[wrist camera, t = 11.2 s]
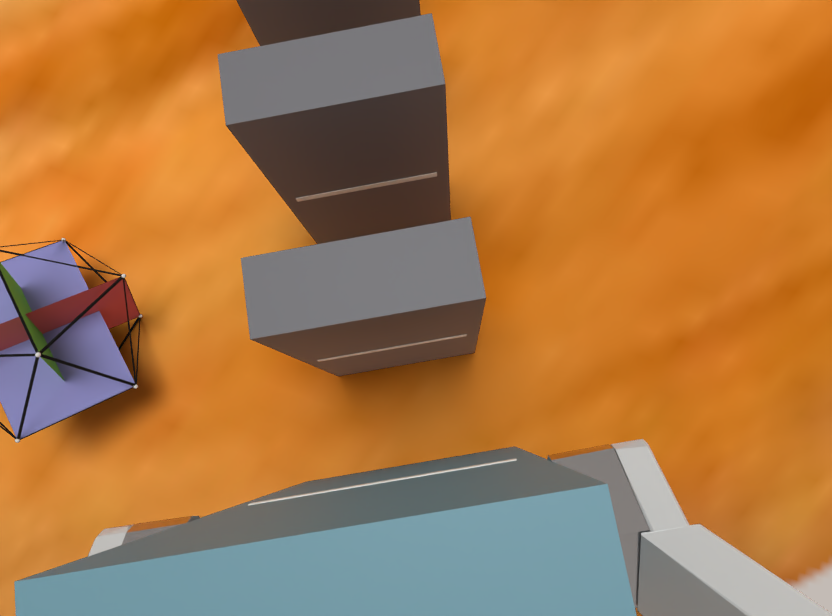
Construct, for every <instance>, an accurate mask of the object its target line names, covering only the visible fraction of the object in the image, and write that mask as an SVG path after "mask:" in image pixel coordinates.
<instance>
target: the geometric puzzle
mask: <svg viewBox="0 0 832 616" xmlns="http://www.w3.org/2000/svg"><path fill="white" fill-rule="evenodd" d="M57 241H59V242H56V243H53V244H50V245H47V246H45V247H42V248H39V249H36V250H33V251H31V252H28V253H25V254H18V253H13V252H8V251H4V250H0V252H5V253H10V254H15V255H19V256H16V257H14V258H11V259H8V260H5V261H2V262H0V402H1V404H2V406H3V408H4V411H5V413H6V415H7V417H8V420H9V422H10V424H11V426H12V429H13V431H14V433H15V435H16V437H15V436H14V435H13V434H12V433H11V432H10V431H9V430H8V429H7V428H6V427H5V426H4V425H3V424H2V423H1V422H0V424H1V425H2V426H3V427H4V428H5V429H6V430H5V429H4V428H3V427H2V426H0V427H1V428H2V429H4V430H5V431H6V432H7V433H9V434H10V435H11V436H12V437H14V438H15V442H17V443H18V442H20V440H21V439H23V438H25V437H27V436H30V435H32V434H34V433H36V432H38V431H40V430H43V429H45V428H47V427H49V426H51V425H53V424H56V423H58V422H60V421H62V420H64V419H66V418H68V417H71V416H73V415H75V414H77V413H79V412H81V411H84V410H86V409H88V408H90V407H92V406H94V405H97V404H99V403H101V402H103V401H105V400H107V399H110V398H112V397H114V396H116V395H118V394H120V393H123V392H125V391H127V390H129V389H131V388H133V387H134V388H138V385H137V370H138V353H139V335H140V318H142V314H140V313H139V311H138V309H137V306H136V304H135V301H134V299H133V297H132V294H131V292H130V289H129V287H128V285H127V282H126V280H125V277H126V275H125V274H121V275H120V273H119V274H115V273H110V272H105V271H101V270H96V269H94V268H93V267H92V266H91V265H90V264H89V263H88V262H87V261H86V260H85V259H84V258H83V257H82V256H81V255H80V254H79V253H78V252H77V251H76V250H75V249H74V248H73V247H72V246H71V245H72V244H71V243H69V242H67V241H66V239H65V238H62V239H61V240H57ZM47 242H53V241H47ZM38 243H44V242H38ZM29 244H35V243H29ZM70 244H71V245H70ZM19 245H26V244H19ZM67 245H68V246H69V247H70V248H71V249H72V250H73V251H74V252H75V253H76V254H77V255H78V256H79V257H80V258H81V259H82V260H83V261H84V262H85V263H86V264H87V265H88V266H89V267H90V268H86V267H81V266H77V264H76V262H75V260H74V258H73V256H72V254H71V252H70V250H69V248H68V246H67ZM10 246H16V245H10ZM73 246H74V245H73ZM1 247H7V246H1ZM74 247H76V246H74ZM76 248H77V247H76ZM78 249H79V248H78ZM79 250H81V249H79ZM81 251H82V250H81ZM83 252H84V251H83ZM84 253H85V252H84ZM86 254H87V253H86ZM88 255H89V254H88ZM89 256H90V255H89ZM91 257H92V256H91ZM93 258H94V257H93ZM94 259H95V258H94ZM96 260H97V259H96ZM97 261H99V260H97ZM99 262H100V261H99ZM101 263H102V262H101ZM102 264H104V263H102ZM104 265H105V264H104ZM106 266H107V265H106ZM107 267H109V266H107ZM79 268H83V269H88V270H93V271H94V272H95V273H96V274H97V275H98V276H99V277H100V278H101V279H102V280H103V281H104V282H105V283H104V284H101V285H99V286H96V287H94V288H91V289H88V287H87V285H86V283H85V281H84V279H83V277H82V274H81V272H80V270H79ZM109 268H110V267H109ZM111 269H112V268H111ZM112 270H114V269H112ZM97 271H98V272H103V273H107V274H112V275H117V276H121V277H119V278H117V279H114V280H111V281H109V282H107V281H106V280H105V279H104V278H103V277H102V276H101V275H100V274H99V273H98V272H97ZM114 271H115V270H114ZM116 272H117V271H116ZM117 273H118V272H117ZM137 317H138V318H137ZM134 318H137V320H136V321H135V323H134V324H133V326H132V328H131V329H130V324H129V320H132V319H134ZM138 320H139V335H138V352H137V370H136V375H135V366H134V358H133V349H132V341H131V331H132V330H133V328H134V327H135V325H136V323H137V322H138ZM127 321H128V329H129V332H128V334H127V336H126V337H125V339H124V340H123V342H122V344H121V345H120V347H119V348H118V347H117V345H116V343H115V341H114V339H113V337H112V335H111V333H110V331H109V329H110V328H113V327H115V326H118V325H120V324H122V323H125V322H127ZM128 336H129V337H130V346H131V354H132V363H133V371H134V380H135V382H134V380H133V378H132V376H131V374H130V372H129V370H128V368H127V365H126V363H125V361H124V359H123V357H122V355H121V353H120V351H119V350H120V349H121V347H122V346H123V344H124V342H125V341H126V339H127V338H128Z"/></svg>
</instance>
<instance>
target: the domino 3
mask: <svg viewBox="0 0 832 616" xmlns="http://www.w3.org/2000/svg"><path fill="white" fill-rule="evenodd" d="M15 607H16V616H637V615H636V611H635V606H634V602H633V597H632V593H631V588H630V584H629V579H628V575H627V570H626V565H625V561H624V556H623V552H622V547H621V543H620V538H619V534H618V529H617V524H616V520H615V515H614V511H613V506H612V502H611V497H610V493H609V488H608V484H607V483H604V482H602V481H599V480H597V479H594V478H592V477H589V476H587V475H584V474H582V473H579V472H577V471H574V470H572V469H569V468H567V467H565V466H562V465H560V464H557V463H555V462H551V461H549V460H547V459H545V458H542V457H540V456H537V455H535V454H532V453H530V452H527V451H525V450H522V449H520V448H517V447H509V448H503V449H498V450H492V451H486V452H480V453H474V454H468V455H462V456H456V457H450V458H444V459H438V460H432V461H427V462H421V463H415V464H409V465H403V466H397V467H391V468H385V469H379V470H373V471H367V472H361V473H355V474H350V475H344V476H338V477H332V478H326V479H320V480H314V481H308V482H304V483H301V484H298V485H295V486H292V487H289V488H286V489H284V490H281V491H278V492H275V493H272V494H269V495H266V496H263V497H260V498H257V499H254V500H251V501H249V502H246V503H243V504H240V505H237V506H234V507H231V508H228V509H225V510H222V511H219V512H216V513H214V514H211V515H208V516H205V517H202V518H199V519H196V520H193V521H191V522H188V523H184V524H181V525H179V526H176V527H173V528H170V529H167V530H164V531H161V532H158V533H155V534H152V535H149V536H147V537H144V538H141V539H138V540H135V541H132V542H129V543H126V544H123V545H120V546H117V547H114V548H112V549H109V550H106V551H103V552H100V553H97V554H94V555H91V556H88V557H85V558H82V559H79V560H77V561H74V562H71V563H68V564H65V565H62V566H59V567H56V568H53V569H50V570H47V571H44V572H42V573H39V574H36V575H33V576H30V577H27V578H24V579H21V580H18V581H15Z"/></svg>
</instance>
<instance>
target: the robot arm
mask: <svg viewBox="0 0 832 616" xmlns="http://www.w3.org/2000/svg"><path fill="white" fill-rule="evenodd" d="M547 460H549V461H551V462H555V463H557V464H560V465H562V466H565V467H567V468H569V469H572V470H574V471H577V472H579V473H582V474H584V475H587V476H589V477H592V478H594V479H597V480H599V481H602V482H604V483H607V484H608V488H609V493H610V497H611V502H612V506H613V511H614V515H615V520H616V524H617V529H618V534H619V538H620V543H621V547H622V552H623V556H624V561H625V565H626V570H627V575H628V579H629V584H630V588H631V593H632V597H633V602H634V606H635V608H637V607H638V609H637V610H638V611H639V612H640V613H641V614H642V615H643V616H832V613H831V612H829V611H828V610H826V609H825V608H823V607H822V606H820V605H819V604H817V603H816V602H814V601H813V600H811V599H810V598H808V597H807V596H805V595H804V594H802V593H801V592H800V591H798V590H797V589H795V588H794V587H792V586H791V585H789V584H788V583H786V582H785V581H783V580H782V579H780V578H779V577H777V576H776V575H774V574H773V573H772V572H770V571H769V570H767V569H766V568H764V567H763V566H761V565H760V564H758V563H757V562H755V561H754V560H752V559H751V558H749V557H748V556H746V555H745V554H743V553H742V552H741V551H739V550H738V549H736V548H735V547H733V546H732V545H730V544H729V543H727V542H726V541H724V540H723V539H721V538H720V537H718V536H717V535H715V534H714V533H712V532H711V531H710V530H708V529H707V528H705V527H704V526H702V525H701V524H694V525H689V523H688V521H687V519H686V517H685V515H684V513H683V511H682V509H681V507H680V505H679V503H678V502H677V500H676V498H675V496H674V494H673V492H672V490H671V488H670V486H669V484H668V482H667V480H666V478H665V476H664V474H663V472H662V470H661V468H660V466H659V464H658V462H657V460H656V458H655V457H654V455H653V453H652V451H651V449H650V447H649V445H648V443H647V442H646V441H644V440H643V439H639V440H634V441H628V442H622V443H616V444H611V445H609V444H607V445H602V446H596V447H591V448H585V449H580V450H574V451H569V452H563V453H558V454H552V455H548V459H547ZM199 518H200V517H199V516H189V517H182V518H175V519H167V520H160V521H153V522H146V523H139V524H134V525H127V526H121V527H114V528H107V529H104V530H103V531H102V532H101V533H100V534H99V535H98V536H97V537H96V538H95V540H94V543H93V545H92V547H91V550H90V552H89V555H88V556H91V555H94V554H97V553H100V552H103V551H106V550H109V549H112V548H114V547H117V546H120V545H123V544H126V543H129V542H132V541H135V540H138V539H141V538H144V537H147V536H149V535H152V534H155V533H158V532H161V531H164V530H167V529H170V528H173V527H176V526H179V525H181V524H184V523H188V522H191V521H193V520H196V519H199Z"/></svg>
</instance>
